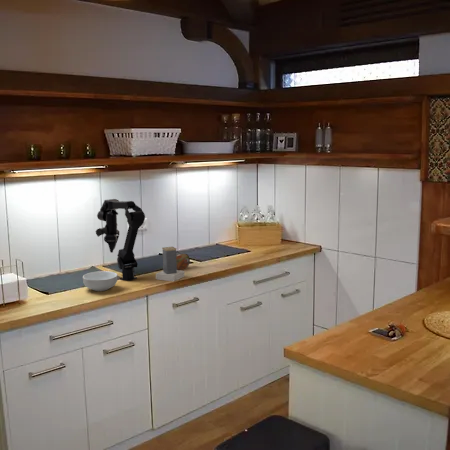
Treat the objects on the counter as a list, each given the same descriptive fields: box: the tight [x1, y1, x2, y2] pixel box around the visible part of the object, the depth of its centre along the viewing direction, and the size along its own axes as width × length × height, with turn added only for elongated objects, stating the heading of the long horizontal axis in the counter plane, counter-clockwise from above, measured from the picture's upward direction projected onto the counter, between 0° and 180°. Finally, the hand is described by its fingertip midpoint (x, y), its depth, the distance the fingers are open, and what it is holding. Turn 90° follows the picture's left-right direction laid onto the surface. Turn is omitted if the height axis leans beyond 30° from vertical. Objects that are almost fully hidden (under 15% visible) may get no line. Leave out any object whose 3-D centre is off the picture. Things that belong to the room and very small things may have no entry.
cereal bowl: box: [82, 270, 118, 292], centre depth 271 cm, size 17×17×7 cm
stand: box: [155, 270, 185, 282], centre depth 292 cm, size 11×11×3 cm
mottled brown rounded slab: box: [176, 253, 191, 271], centre depth 310 cm, size 15×3×8 cm, turn 143°
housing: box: [161, 246, 178, 274], centre depth 290 cm, size 6×6×13 cm
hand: (112, 250), depth 299 cm, fingers open, 9 cm apart
